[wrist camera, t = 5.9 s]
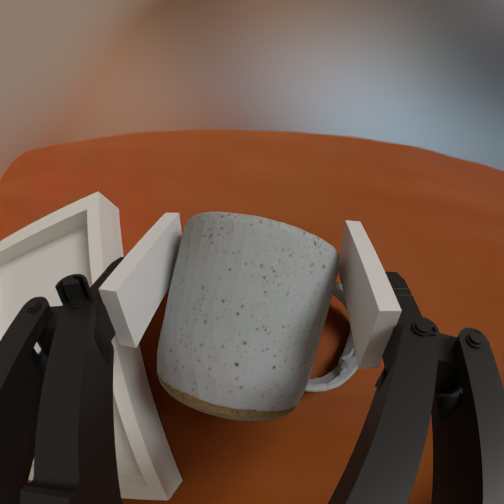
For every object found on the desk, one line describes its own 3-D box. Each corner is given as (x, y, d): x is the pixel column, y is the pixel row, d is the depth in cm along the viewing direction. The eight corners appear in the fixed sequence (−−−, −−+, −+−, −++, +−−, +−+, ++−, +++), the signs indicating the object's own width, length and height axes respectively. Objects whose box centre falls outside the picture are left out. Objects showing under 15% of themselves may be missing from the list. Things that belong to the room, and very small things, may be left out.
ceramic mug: (176, 372, 17) (116, 393, 9) (206, 246, 19) (167, 191, 11) (345, 406, 15) (393, 449, 8) (370, 278, 17) (429, 241, 10)
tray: (118, 208, 20) (98, 191, 17) (182, 480, 14) (168, 500, 12) (-5, 264, 20) (-25, 256, 17) (33, 467, 14) (13, 474, 12)
